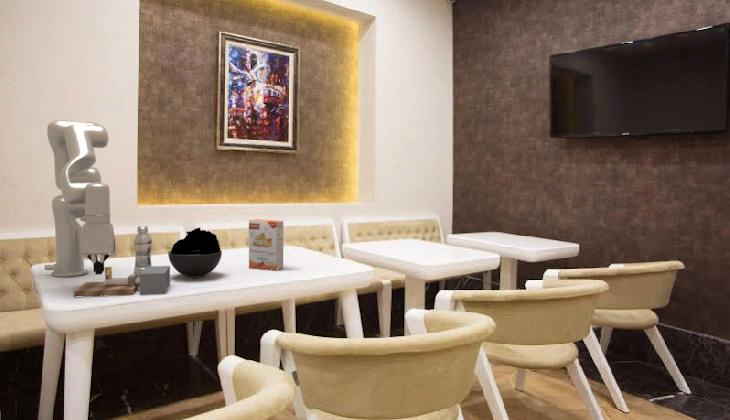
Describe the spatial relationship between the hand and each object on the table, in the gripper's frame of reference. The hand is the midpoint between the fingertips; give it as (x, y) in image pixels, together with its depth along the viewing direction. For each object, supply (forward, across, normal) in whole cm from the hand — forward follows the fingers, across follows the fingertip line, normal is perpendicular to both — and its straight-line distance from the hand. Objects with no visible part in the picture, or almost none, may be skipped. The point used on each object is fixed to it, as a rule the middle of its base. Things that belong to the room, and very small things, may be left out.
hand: (99, 273), depth 180 cm
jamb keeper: (+6, +18, 0) cm, 19 cm away
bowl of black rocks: (+6, +30, +21) cm, 37 cm away
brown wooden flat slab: (+6, +3, 0) cm, 7 cm away
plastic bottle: (+6, +11, +20) cm, 24 cm away
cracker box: (+6, +58, +34) cm, 68 cm away
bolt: (+3, +8, 0) cm, 9 cm away
